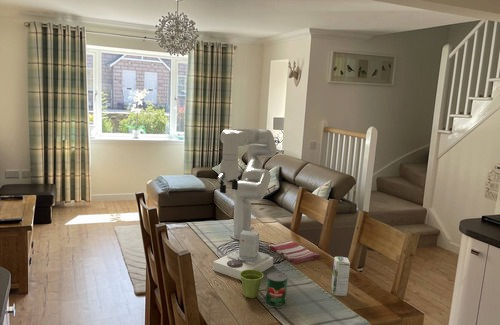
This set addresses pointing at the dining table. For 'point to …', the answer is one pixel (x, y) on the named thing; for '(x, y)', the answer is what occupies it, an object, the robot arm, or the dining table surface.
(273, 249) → the dish towel
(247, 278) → the plant pot
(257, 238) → the small box
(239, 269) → the scale
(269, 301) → the canned tomato
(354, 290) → the dining table surface
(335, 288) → the syrup box
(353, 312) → the dining table surface
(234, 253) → the scale pan
